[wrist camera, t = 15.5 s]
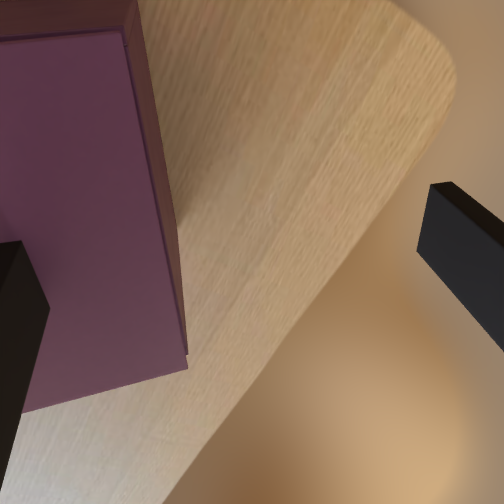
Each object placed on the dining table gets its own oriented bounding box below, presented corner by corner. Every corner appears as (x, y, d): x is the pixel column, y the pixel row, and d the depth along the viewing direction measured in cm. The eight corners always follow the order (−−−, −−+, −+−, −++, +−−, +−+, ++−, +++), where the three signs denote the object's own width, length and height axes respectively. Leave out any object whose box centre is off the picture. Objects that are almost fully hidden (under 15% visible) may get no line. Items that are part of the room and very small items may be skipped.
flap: (119, 29, 11) (120, 32, 11) (186, 362, 19) (188, 369, 19) (-190, 60, 10) (-199, 64, 10) (16, 407, 17) (14, 416, 17)
